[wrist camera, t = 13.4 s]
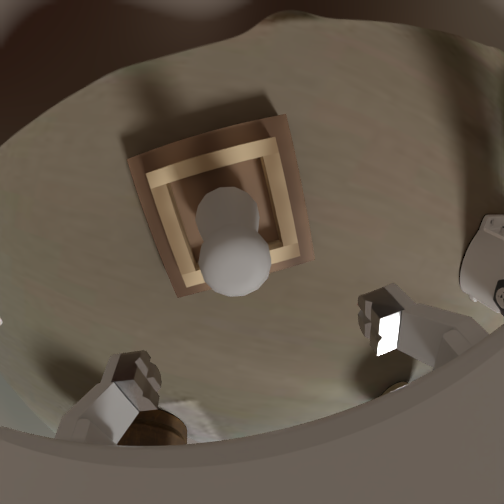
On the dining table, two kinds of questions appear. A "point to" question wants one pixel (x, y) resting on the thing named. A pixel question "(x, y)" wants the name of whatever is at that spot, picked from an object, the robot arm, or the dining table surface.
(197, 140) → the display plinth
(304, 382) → the dining table surface
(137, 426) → the wooden container
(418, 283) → the dining table surface
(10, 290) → the dining table surface
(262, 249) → the salt shaker
